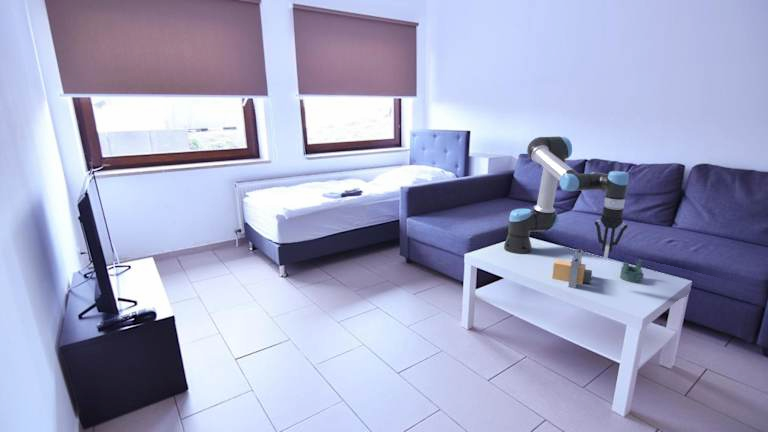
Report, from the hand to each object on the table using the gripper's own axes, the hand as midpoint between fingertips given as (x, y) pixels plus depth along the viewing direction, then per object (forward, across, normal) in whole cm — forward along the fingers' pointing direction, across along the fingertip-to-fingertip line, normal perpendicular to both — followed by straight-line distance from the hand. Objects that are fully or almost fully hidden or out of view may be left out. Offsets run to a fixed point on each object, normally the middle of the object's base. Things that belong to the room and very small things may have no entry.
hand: (605, 258), depth 174 cm
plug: (+13, -13, 0) cm, 18 cm away
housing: (+13, -11, 0) cm, 17 cm away
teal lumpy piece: (+14, +12, +15) cm, 23 cm away
